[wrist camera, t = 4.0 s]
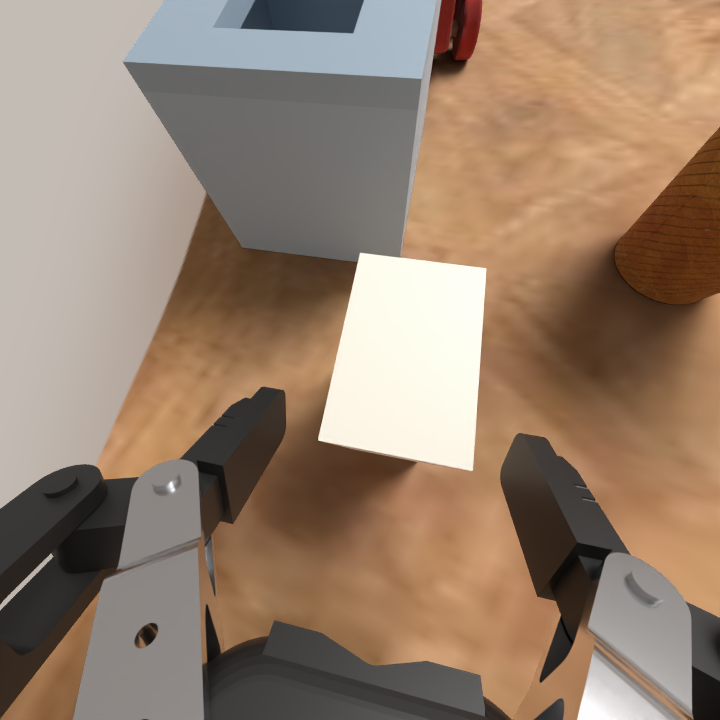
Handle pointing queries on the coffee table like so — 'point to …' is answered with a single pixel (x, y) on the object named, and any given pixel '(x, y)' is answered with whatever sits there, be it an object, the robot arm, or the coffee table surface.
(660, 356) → the coffee table surface
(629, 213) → the coffee table surface
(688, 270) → the disposable coffee cup
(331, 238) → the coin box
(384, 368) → the block
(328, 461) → the coffee table surface
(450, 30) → the toy fire truck
